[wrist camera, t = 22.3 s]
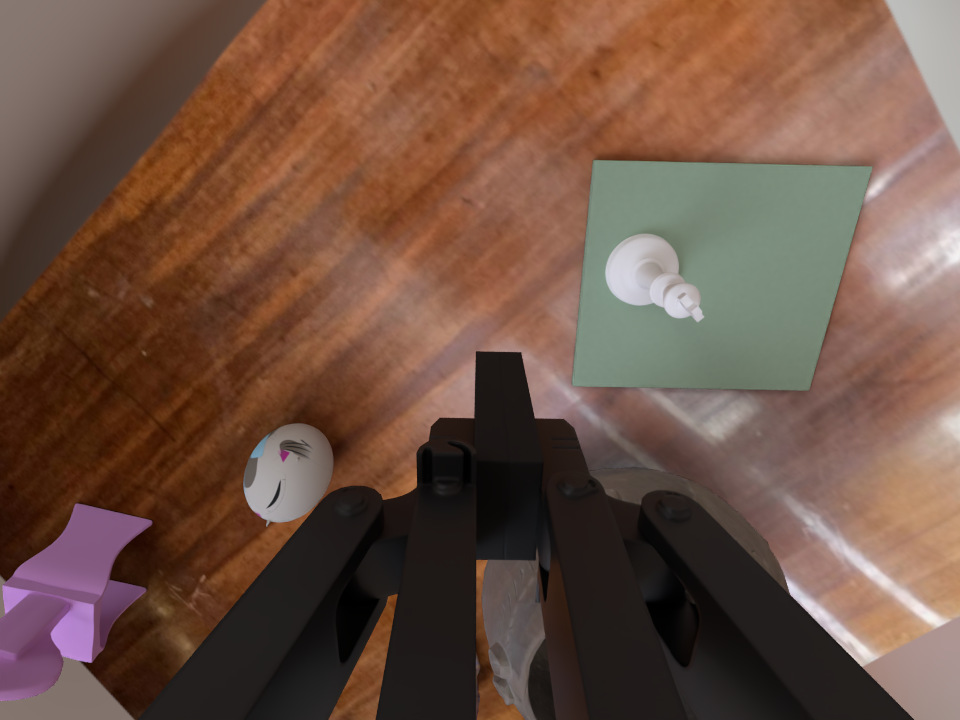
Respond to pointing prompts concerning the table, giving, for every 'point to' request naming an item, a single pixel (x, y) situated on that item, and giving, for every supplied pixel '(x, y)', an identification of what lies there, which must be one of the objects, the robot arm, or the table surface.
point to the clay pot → (520, 619)
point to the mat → (718, 272)
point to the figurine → (288, 472)
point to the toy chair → (64, 601)
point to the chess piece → (651, 276)
